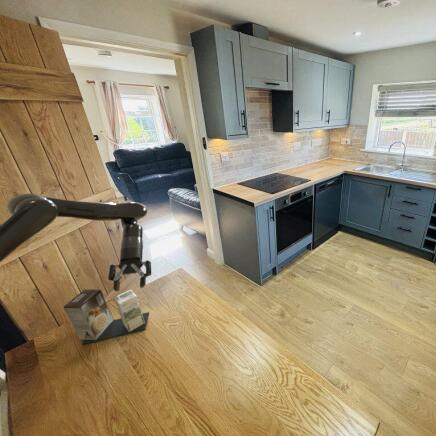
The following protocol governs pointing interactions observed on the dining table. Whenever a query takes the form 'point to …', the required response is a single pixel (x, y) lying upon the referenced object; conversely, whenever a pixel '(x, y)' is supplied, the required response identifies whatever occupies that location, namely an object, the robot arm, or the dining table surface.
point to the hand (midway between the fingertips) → (129, 289)
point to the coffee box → (89, 314)
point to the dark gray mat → (117, 330)
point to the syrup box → (129, 310)
